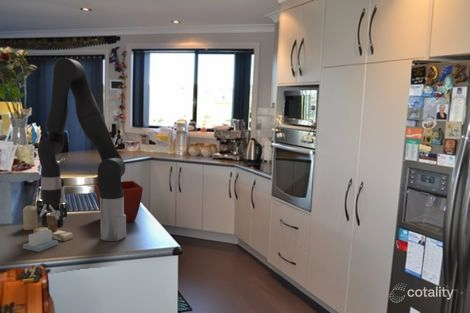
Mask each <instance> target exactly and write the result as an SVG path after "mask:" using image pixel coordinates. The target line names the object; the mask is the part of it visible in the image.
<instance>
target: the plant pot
mask: <svg viewBox="0 0 470 313" xmlns="http://www.w3.org/2000/svg"><path fill="white" fill-rule="evenodd" d="M93 185H94V192H95V196H96V201H97V204H98V206H99V209H100V192H99V189H98V182H96V183H94V184H93ZM121 187H122V189H123V191H124V215H126V223H131V222H135V221H136V219H137V217H138V216H137V215H138V213H139V209H140V206H141V202H142V196H143V190H144V187H143V186H142V185H140V184H138V183H137V182H136V181H135V180H123V181H122V180H121Z"/></svg>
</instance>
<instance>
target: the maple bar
mask: <svg viewBox="0 0 470 313" xmlns="http://www.w3.org/2000/svg"><path fill="white" fill-rule="evenodd" d="M45 229H48V230H52V240H57V241H63V242H66V241H69V240H72V239H73V238H74V237H73V235H74V234H73V232H70V231H65V230H59V229H58V228H57V217H56V215H50V214H47V227H46V226H45V227H44V226H39V227H37V228H35V229H33V230H32V231H33V233H36V232H39V231H42V230H45ZM33 233H32V234H33Z"/></svg>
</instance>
